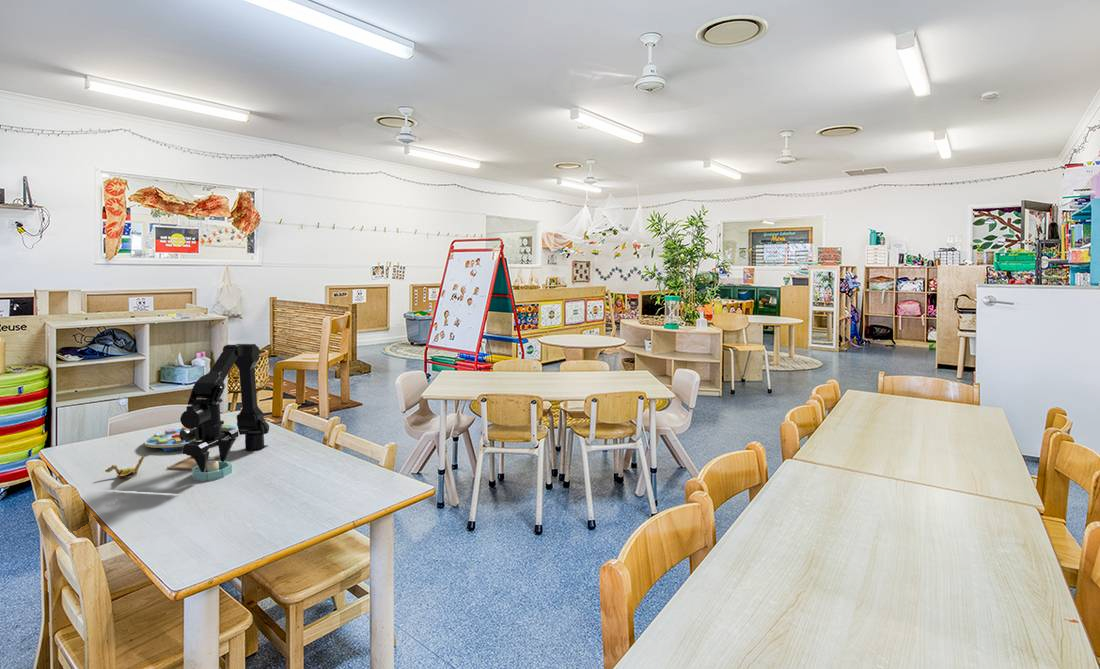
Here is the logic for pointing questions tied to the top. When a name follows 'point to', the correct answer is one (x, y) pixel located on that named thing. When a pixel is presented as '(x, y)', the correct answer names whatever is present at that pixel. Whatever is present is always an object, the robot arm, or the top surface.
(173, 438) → the shape sorting clock
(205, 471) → the grey rounded cylinder
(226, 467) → the bowl
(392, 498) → the top surface
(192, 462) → the parts tray
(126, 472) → the olive plastic animal figure
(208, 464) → the sand beige cylinder
